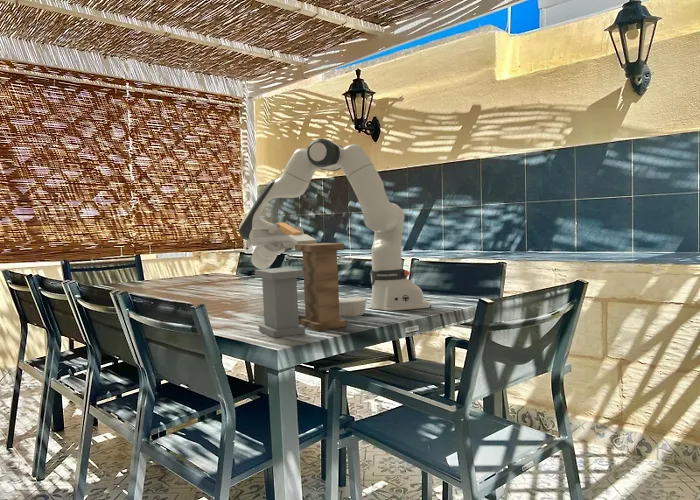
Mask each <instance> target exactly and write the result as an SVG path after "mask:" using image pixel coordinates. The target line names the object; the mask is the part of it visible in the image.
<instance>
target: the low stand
mask: <svg viewBox="0 0 700 500" xmlns="http://www.w3.org/2000/svg"><path fill="white" fill-rule="evenodd" d="M254 276H255V277H256V278H261V279H262V280H261V281H262V283H261V284H262V299H263V300H262V301H263V302H262V303H263V316H264V317H263V318H264V319H263V320H264V321H263V322H264V324H263V323H262V324H259V325H258V331H259V332H260V333H262V334H264V335H266V336H268V337H271V338H273V339H274V338H275V339H276V338H283V337H289V336H297V335H301V334H306V327H305V326H302V325H301V324H299V322H300V320H299V307H298V306H299V303H298V283H297V282H298V281H297V280H298V279H297V278H304V271H303V269H300V268H299V269H298V268H292V267H286V266H285V267H284V266H283V267H275V268H274V267H273V268H266V269H254Z"/></svg>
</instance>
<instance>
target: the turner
mask: <svg viewBox="0 0 700 500" xmlns="http://www.w3.org/2000/svg"><path fill="white" fill-rule="evenodd" d="M278 223H279V229H278V230H280V231H282V232H283V233H285V234H287V235H288V239H289V240H291V241H292V242H294V243H295V244H296V245H298V244H313V243H318V239H316V238H315V237H312V236H310V235H309V234H307V233H306V234H305V233H304V234H301V232H300V231H298V230H297V229H295V228H293V227H294V226H292V225H291V224H290V225H291V226H290V225H288V224H286V223H287V222H283V221H282V222H278Z"/></svg>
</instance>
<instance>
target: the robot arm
mask: <svg viewBox="0 0 700 500" xmlns="http://www.w3.org/2000/svg"><path fill="white" fill-rule="evenodd" d="M317 170H323V171H329V172H336V171H340V170H342V171H343V173H344V174H345V177H346V179H347V180H348V182H349V184H350V185H351V188H352V189H353V192H354V194H355V196H356V198H357V200H358V204H359V206H360V210H361V212H362V217H363V223H364V225H365V226H366V228H367V229H368V230H370V231H372V232H374V234H373V243H372V245H371V250H370V251H371V270H370V283H371V287H372V288H371V297H370V298H371V299H370V303H369V308H370V309H374V310H382V311H401V310H402V311H403V310H404V311H405V310H415V309H427V308H430V306H431V303H430V302H429V301H428V300H426V299H425V298H424V297H425V296H424V293H423V290H422V289H421V287H420V286H418V285H417V284H415V283H414V282H413V281H411V280H410V279H408V276H409V275H410V271H409V270H408V269H407V270H406V269H404V268H403V267H402V240H403V232H404V222H405V213H404V211H403V209H402V208H401V206H399V205H398V204H397V203H393V202H390V200H389V198H388V195H387V192H386V190H385V185H384V182H383V180H382V178H381V176H380V175H379V172H378V170H377V169H376V167H375V165H374V163H373V161H372V160H371V158H370V157H369V155H368V154H367V152H366V150H364V148H363V147H362V146H361V145H359V144H357V143H352V144H348V145H346V146H344V147H343V146H342V145H340V144H339V143H337V142H335V141H333V140H329V139H328V138H327V139H326V138H317V139H314V140H313V141H311V142H310V143H309V144H308V146H307V148H303V147H302V148H297V149H295V151H294V152H293V153H292V154H291V157H290V159H288V162H287V163H286V166H285V167H284V170H283V172H282V174H281V175H280V176H279V177H278V178H277V179H272V180H270V182H268V183H267V185H266V186H265V187H264V189H263V190H262V191H261V193H260V195H259V196H258V197H257V199H256V201H255V203H253V206H252V207H251V209H250V210H249V212H248V213H247V214H246V216H244V217H243V218H242V220H241V222H240V224H239V226H238V233H239V236H240V237H241V239H242V240H246V241H245V242H246V243H245V244H247V245H249V246H251V247H255V248H254V250H253V252H252V255H251V264H252V265H253V267H255V268H257V269H258V270H262V269H269V268H270V266H271V265H272V264H273V263H274V262H275V260H277V259H276V258H277V257H278V255H280V254H283V253H285V252H288V251H292V250H293V251H294V250H295V245H297V244H295V243H294V242H292V241H291V240H289V239H288V235H287V234H285V233H283V232H282V231H280V230H278V229H279V223H280V222H276V223H272V222H270V221H266V220H264V219H262V218H260V215H261V213H262V212H263V210H264V209H265V208H266V206H267V204H268V203H269V202H270V201H271V200H274V199H278V198H279V199H280V198H281V199H286V198H287V199H291V198H292V199H295V198H298V197H301V196H302V195H304V194H305V192H306V191H307V189H308V187H309V185H310V183H311V180H312V178H313V176H314V174H315V173H316V171H317ZM285 223H286V224H288V225H290V226H291V227H293V228H295V229H297V230H298V231H300V232H301V234H305V233H304V229H303V227H302V226H292V225H291V223H290V222H285Z"/></svg>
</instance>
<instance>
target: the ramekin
mask: <svg viewBox="0 0 700 500" xmlns="http://www.w3.org/2000/svg"><path fill="white" fill-rule="evenodd" d="M366 306H367V298H364V297H357V296H355V297H354V296H353V297H342V298H339V313H340V317H345V318H346V317H358V316H362V315H364V314H365V312H366Z"/></svg>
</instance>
